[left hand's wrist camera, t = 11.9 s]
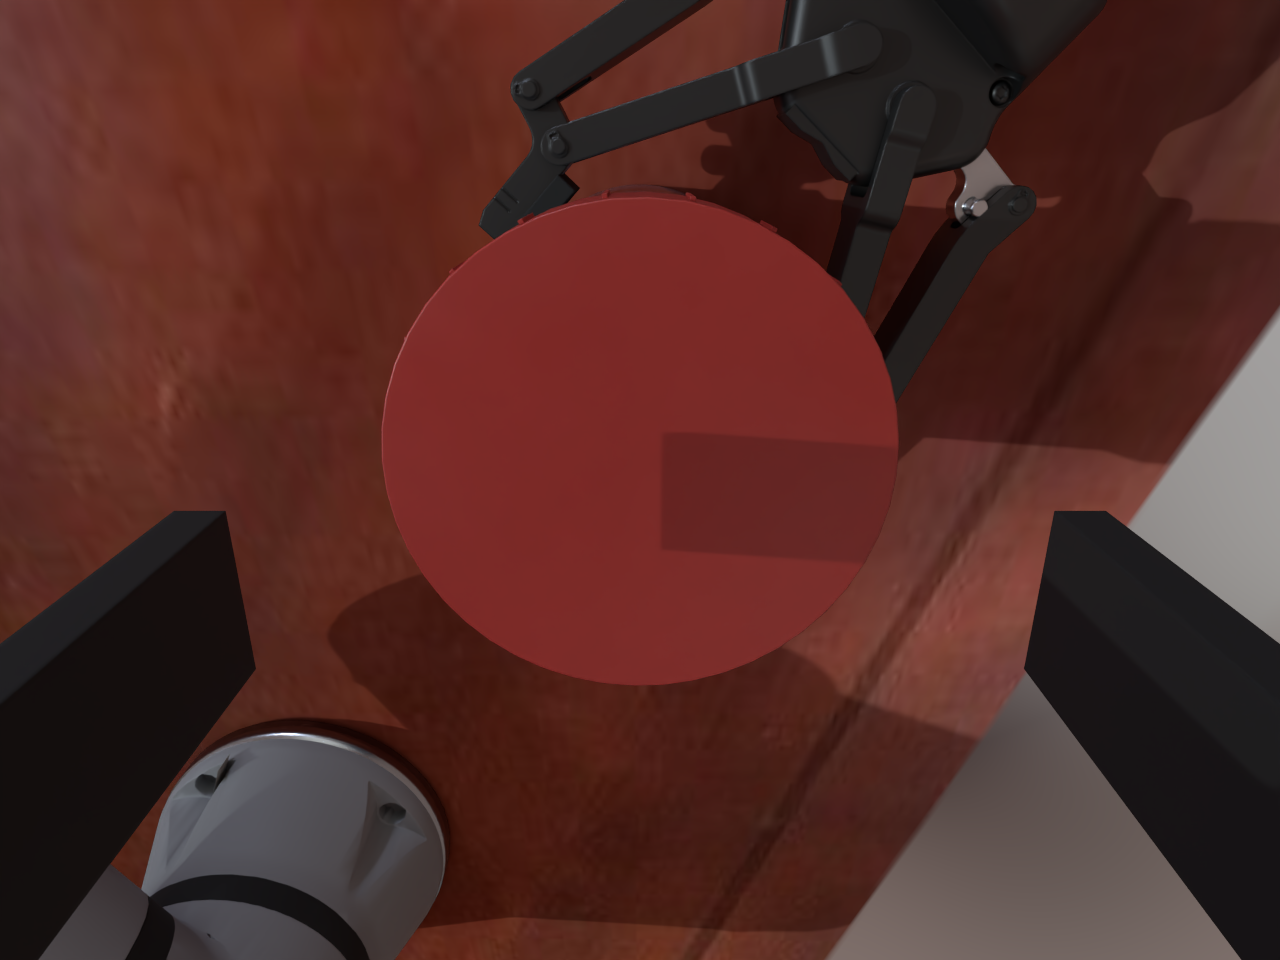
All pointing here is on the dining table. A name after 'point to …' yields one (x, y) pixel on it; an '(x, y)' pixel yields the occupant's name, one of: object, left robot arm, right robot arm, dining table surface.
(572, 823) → the dining table surface
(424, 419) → the lid
